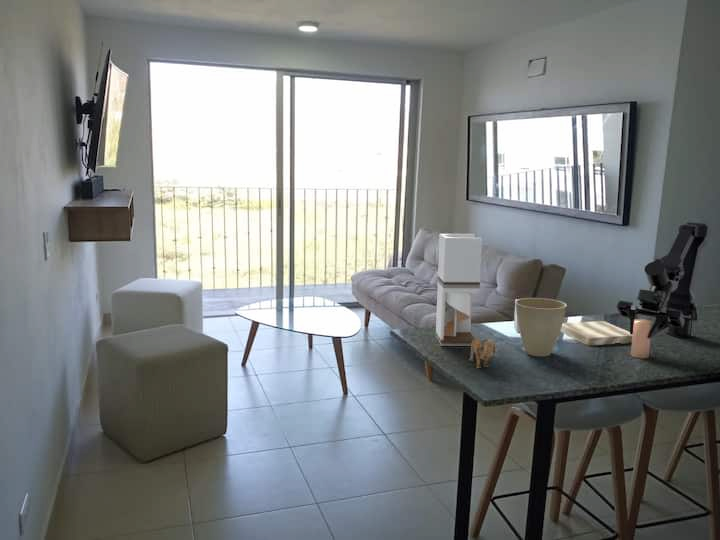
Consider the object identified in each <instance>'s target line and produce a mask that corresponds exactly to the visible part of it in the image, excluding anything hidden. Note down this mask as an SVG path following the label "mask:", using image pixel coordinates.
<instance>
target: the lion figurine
mask: <svg viewBox="0 0 720 540" xmlns="http://www.w3.org/2000/svg"><path fill="white" fill-rule="evenodd" d="M498 351H499V347H498V346H497V345H495V343H494V340H492V339H488V338H487V339H485V340H481V339H480V338H475V339H474V340H473V341H472V344H471V347H470V352H469V353H468V355H469V359H468V361H469V360H470V361H472V362H474V353H475V358H476V367H477V368H481V360H484V361H483V367H484V366H485V367H488V366H489V365H488V361H489V359H490V358H491V357H492V356H493V354H495V355H496V354H497V352H498ZM470 361H469V362H470ZM485 367H484V368H485ZM477 368H476V369H477ZM488 368H489V367H488Z"/></svg>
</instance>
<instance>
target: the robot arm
mask: <svg viewBox="0 0 720 540" xmlns="http://www.w3.org/2000/svg"><path fill="white" fill-rule="evenodd" d="M712 234H713V227H712V226H710V224H709V223H708V222H696V221H688V222H687V223H684V224H680V225H679V227H678V233H677V234H676V237H675V239H674V241H673V242H672V245H671V246H670V247H671V248H670V249H669V251H668V253H667V254H666V255H664V256H662V257H661V258H655V260H654V261H651V262H649V263H647V264H646V265H645V266H644V274H645V276H646V278H647V281H648V284H649V285H651V286H650V288H649V290H647V289H642V288H641V289H639V291H638V295H637V298H636V299H637V301H639V307H638V306H636V305H634V303H633V302H632V301H629V300H622V299H621V300H619V301H618V302H617V304H616V308H617V311H618V312H619V315H620V316H621V317H623V318H624V317H625V318H628V319H629V321H630V323H629V332H630V334H631V335H632V334H633V325H634V319H640V318H639V315H641V316H646V317H650V318H655V320H654V323H652V328H651V330H650V332H649V335H648V338H649V339H650V338H653V337H655V336H656V335H657V334H659V333H660V332H661V331H663V330H665V329H667V328H668V330H667V331H665V333H666V334H668V335H670V336H673V337H676V338H679V339H682V338H694V337H696V336H695V335H694V334H692V329H693V322H695V321H698V320H699V310H698V306H697V304H696V303H697V299H696V296H695V293H694V291H693V289H694V283H695V280H696V275H697V271H698V265H699V260H700V257H701V252H702V249H703V248H704V247H705V246H706V245H707V244H709V240H710V238H711V237H712ZM672 282H678V283H677V286H676V288H675V289H674V290H673V287H674V285H673V283H672ZM640 306H641V307H640ZM664 309H666V311H665V312H664V311H663V310H664ZM650 340H651V339H650Z"/></svg>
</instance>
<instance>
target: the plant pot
mask: <svg viewBox="0 0 720 540" xmlns="http://www.w3.org/2000/svg"><path fill="white" fill-rule="evenodd" d="M566 311H567V303H565V302H563V301H561V300H556V299H551V298H544V297H543V298H541V297H527V298H525V297H524V298H519V299H517V301H516V312H517V320H518V325H519V330H520V332H519V334H520V338H521V339H520V340H521V341H522V345H523V348H524V350H525V353H526V354H527V355H529V356H533V357H539V358H540V357H543V358H544V357H548V356H550V355H551V354H552V352H553V350H554V347H555V345H556V344H557V341H558V338H559V335H560V333H561V332H560V330H561V327H562V323H564V319H565V315H566Z"/></svg>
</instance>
